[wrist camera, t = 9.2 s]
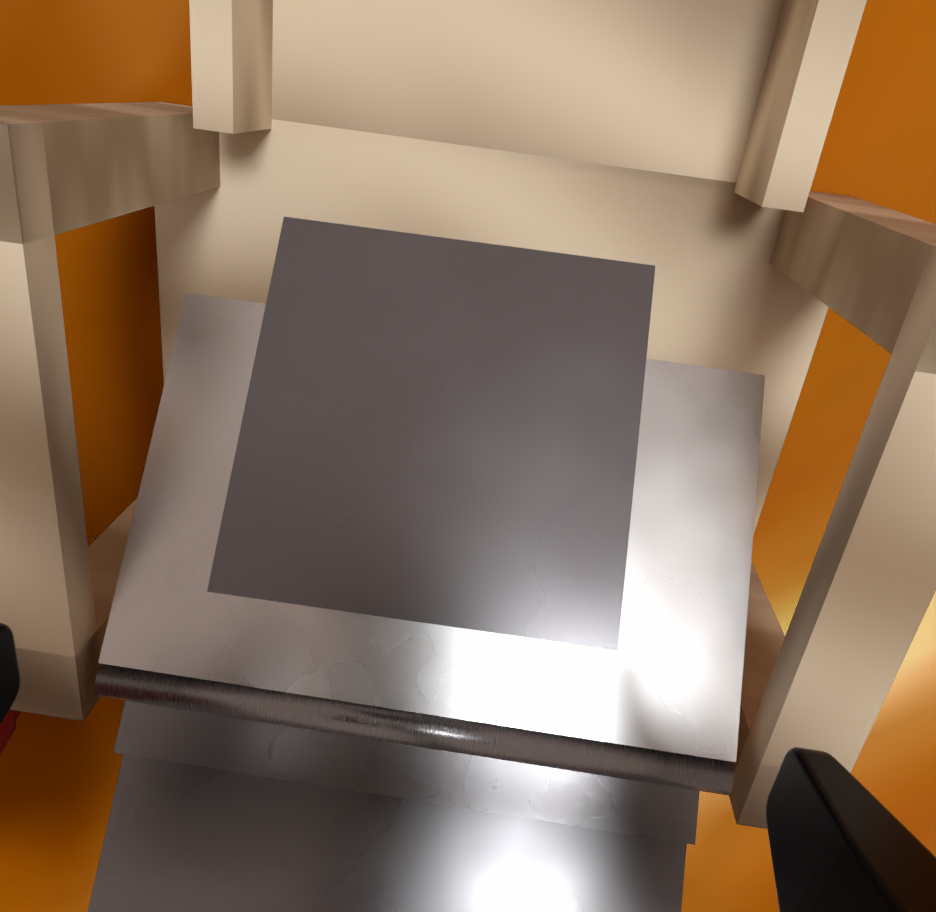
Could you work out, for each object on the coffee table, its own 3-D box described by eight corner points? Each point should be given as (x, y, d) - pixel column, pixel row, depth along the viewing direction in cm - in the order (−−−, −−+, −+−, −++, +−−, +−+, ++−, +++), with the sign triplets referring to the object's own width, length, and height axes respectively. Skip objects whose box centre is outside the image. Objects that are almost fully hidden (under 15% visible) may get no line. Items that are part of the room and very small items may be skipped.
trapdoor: (636, 943, 19) (711, 1088, 13) (156, 865, 19) (23, 974, 13) (684, 439, 21) (765, 375, 16) (260, 377, 22) (186, 292, 16)
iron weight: (589, 385, 16) (655, 265, 10) (560, 637, 15) (617, 650, 9) (345, 352, 16) (283, 216, 10) (300, 599, 15) (206, 591, 9)
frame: (726, 588, 22) (820, 837, 15) (179, 506, 23) (3, 708, 15) (1046, -398, 13) (1687, -1019, 6) (132, -506, 14) (-354, -1215, 6)
